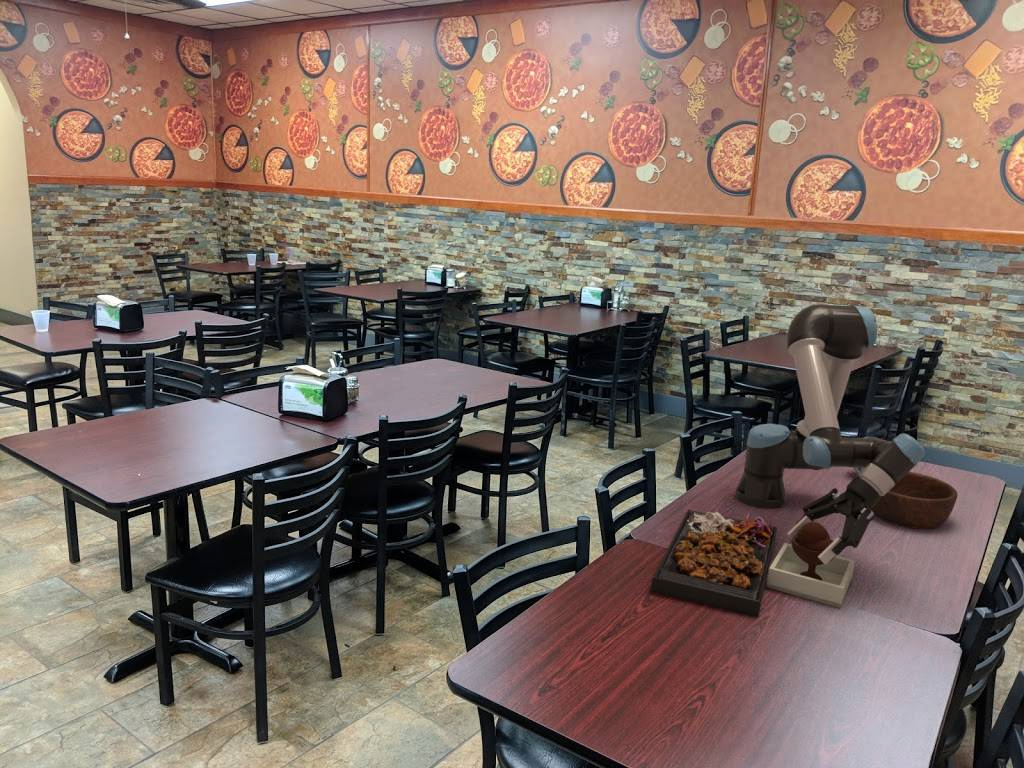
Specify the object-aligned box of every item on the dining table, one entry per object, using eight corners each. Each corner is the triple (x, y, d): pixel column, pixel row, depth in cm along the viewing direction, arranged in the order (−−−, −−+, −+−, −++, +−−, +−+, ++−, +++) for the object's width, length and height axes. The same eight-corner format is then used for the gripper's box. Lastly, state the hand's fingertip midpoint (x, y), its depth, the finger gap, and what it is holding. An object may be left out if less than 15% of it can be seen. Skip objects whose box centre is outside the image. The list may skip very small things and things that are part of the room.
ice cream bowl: (838, 591, 191) (846, 533, 188) (789, 585, 193) (797, 527, 190) (830, 572, 201) (838, 516, 198) (784, 566, 203) (791, 511, 200)
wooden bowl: (958, 539, 226) (965, 506, 224) (863, 524, 234) (869, 491, 231) (943, 507, 249) (949, 476, 247) (857, 494, 257) (862, 464, 254)
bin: (766, 587, 194) (769, 568, 193) (782, 560, 209) (784, 542, 207) (840, 608, 186) (843, 588, 185) (851, 578, 200) (854, 560, 199)
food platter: (686, 523, 230) (689, 490, 227) (775, 541, 221) (780, 507, 219) (650, 594, 190) (654, 554, 187) (757, 619, 181) (763, 578, 178)
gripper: (912, 516, 184) (845, 582, 184) (845, 478, 207) (785, 536, 207) (896, 496, 182) (828, 562, 182) (830, 459, 204) (770, 518, 204)
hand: (805, 548), depth 194 cm, fingers open, 12 cm apart
